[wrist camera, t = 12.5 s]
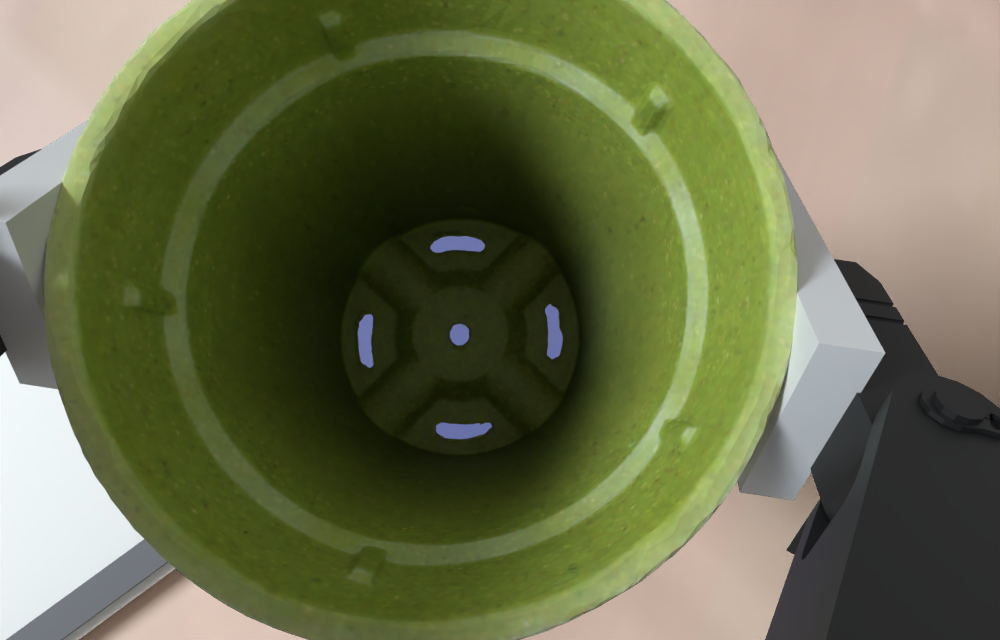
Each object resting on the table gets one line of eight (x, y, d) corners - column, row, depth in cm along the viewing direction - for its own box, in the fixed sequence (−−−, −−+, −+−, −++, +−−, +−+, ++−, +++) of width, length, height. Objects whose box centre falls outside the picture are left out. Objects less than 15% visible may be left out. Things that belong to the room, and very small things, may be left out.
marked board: (87, 161, 28) (68, 150, 27) (304, 473, 27) (295, 477, 25) (-257, 389, 27) (-295, 389, 25) (-46, 731, 25) (-75, 749, 24)
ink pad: (501, 126, 29) (502, 111, 27) (704, 390, 27) (717, 390, 26) (227, 319, 27) (212, 314, 26) (427, 604, 26) (423, 616, 25)
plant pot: (268, 168, 17) (43, -65, 9) (627, 142, 18) (752, -111, 9) (280, 537, 16) (35, 687, 8) (665, 507, 16) (852, 621, 8)
